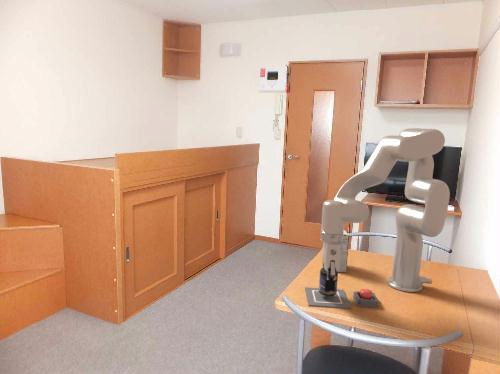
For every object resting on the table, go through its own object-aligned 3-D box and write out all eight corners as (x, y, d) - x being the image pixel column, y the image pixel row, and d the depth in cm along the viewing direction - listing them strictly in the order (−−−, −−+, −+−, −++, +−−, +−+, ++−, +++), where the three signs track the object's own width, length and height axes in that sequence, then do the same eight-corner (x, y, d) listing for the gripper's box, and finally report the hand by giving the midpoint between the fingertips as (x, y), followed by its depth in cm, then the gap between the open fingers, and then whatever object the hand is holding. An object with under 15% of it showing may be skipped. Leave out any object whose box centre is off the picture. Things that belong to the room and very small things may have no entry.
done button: (370, 294, 132) (370, 289, 132) (373, 299, 129) (373, 294, 128) (358, 293, 133) (359, 288, 132) (361, 299, 129) (361, 293, 128)
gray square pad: (343, 290, 140) (343, 289, 140) (350, 308, 126) (351, 307, 126) (304, 288, 140) (305, 287, 140) (308, 305, 127) (308, 304, 126)
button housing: (372, 298, 134) (373, 292, 134) (378, 307, 127) (379, 301, 127) (352, 297, 135) (353, 291, 134) (357, 306, 128) (357, 299, 127)
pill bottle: (331, 298, 129) (334, 267, 127) (315, 293, 132) (317, 263, 130) (339, 292, 133) (341, 262, 132) (323, 287, 137) (325, 258, 135)
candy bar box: (329, 262, 168) (332, 226, 166) (340, 263, 168) (343, 227, 166) (334, 272, 157) (337, 234, 155) (346, 273, 157) (350, 234, 155)
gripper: (347, 244, 121) (343, 298, 124) (338, 230, 138) (334, 277, 141) (324, 243, 121) (320, 296, 124) (317, 229, 138) (314, 276, 141)
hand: (328, 285), depth 132 cm, fingers closed on pill bottle, 6 cm apart
